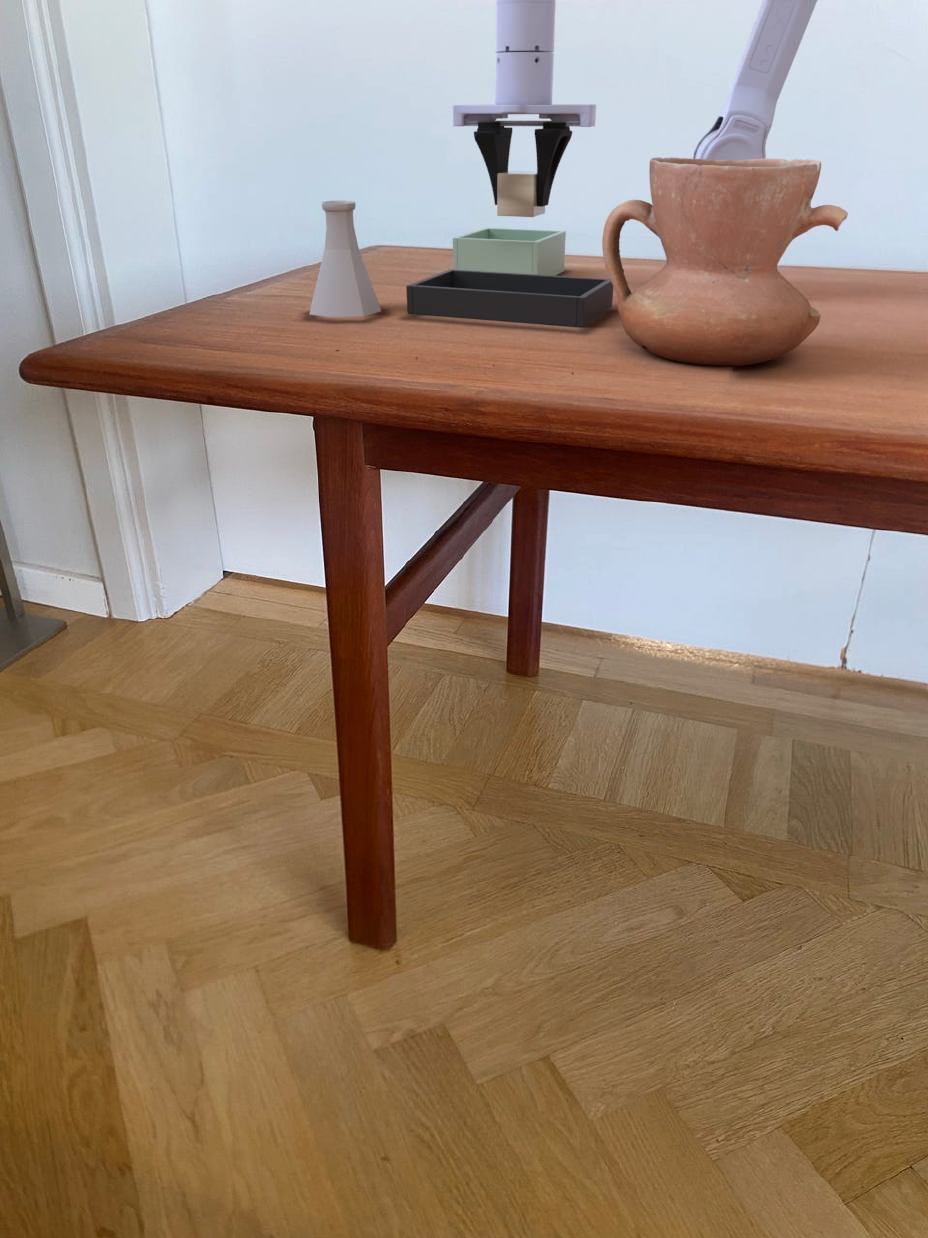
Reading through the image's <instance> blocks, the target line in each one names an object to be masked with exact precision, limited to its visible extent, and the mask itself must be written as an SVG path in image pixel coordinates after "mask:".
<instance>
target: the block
mask: <svg viewBox="0 0 928 1238" xmlns="http://www.w3.org/2000/svg"><path fill="white" fill-rule="evenodd" d="M536 183H537V170H536V171H535V170H534V171H531V170H508V172H503V173H498V181H497V205H496V215H497V217H516V218H517V217H518V218H535V217H537V216H540V215H544V214H545V213H546V206H543V207H539V206H537V202H536Z"/></svg>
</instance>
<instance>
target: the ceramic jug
mask: <svg viewBox="0 0 928 1238" xmlns="http://www.w3.org/2000/svg"><path fill="white" fill-rule="evenodd" d="M648 171H649V172H648V173H649V190H650V197H651V198H650V199H651V203H650V202H648V201H644V200H642V199H631V200H627V201H624V202H622V203H620V204H618V205H616V206H615V207H614V208H613V209H612V210H611V212H610V213H609V215H608V216H607V217H606V220H605V223H604V226H603V232H602V238H601V239H602V240H601V241H602V242H601V243H602V245H601V247H602V256H603V261H604V266H605V269H606V272H607V274H608V277H609V279H610V280H611V282H612V284H613V290H614V291H615V294H616V298H617V303H616V304H617V311H618V314H619V316H620V318H621V323H622V324H621V325H622V327H623V329H624V332H625V333H626V335H627V336H628V337H629V338H630V339H631V341H632V342H633V343H635V344H636V345H638V346H639V347H640V348H642V349H644V350H645V351H648V352H650V353H651V354H653V355H655V356H658V357H661V358H664V359H667V360H670V361H674V362H679V363H684V364H689V365H698V366H699V365H700V366H711V367H712V366H713V367H714V366H715V367H743V366H750V365H755V364H760V363H764V362H767V361H771V360H773V359H777V358H780V357H783V356H784V355H786V354H788V353H790V352H791V351H793V350H795V349H796V348H797V347H798V346H799V345H801V344H802V343H803V342H804V341H805V340H807V338H808V337H809V336H810V335H811V334H812V333H813V332H814V331H815V330H817V329H816V328H817V327H818V326H819V323H820V320H821V317H822V314H821V313H820V312H819V311H818V310H817V309H816V308H815V307H812V306H811V304H810V302H809V299H808V298H806V296H804V294H803V293H802V292H801V291H800V290H799V289H797V288H796V286H794V285H793V284H792V283H791V282H790V281H788V280H787V278H786V277H785V276H784V275H783V274H782V273H780V271H779V270H778V264H779V262H780V261H781V259H782V257H783V256H784V254H785V252H786V251H787V249H788V247H789V245H790V244H791V243H792V242H793V241H794V240H795V239H796V238H798V237H799V236H801V235H803V234H805V233H807V232H808V231H810V230H812V229H813V228H815V227H820V226H827V227H830V228H833V230H834V231H835V232H838V231H839V229H840V226H841V225H842V223H843V222H844V221H845V220H847V218H848V215H849V212H848V211H847V210H845V209H844V208H842V207H840V206H837V205H833V204H823V205H819V206H815V207H812V206H811V203H812V200H813V196H815V195H814V194H815V192H816V189H817V187H818V183H819V179H820V176H821V171H822V161H820V160H815V159H802V158H801V159H799V158H798V159H797V158H796V159H790V160H788V159H784V158H766V159H747V160H738V161H736V160H731V159H729V160H713V159H693V158H687V157H682V158H681V157H660V156H659V157H652V158H651V159H650V160H649V170H648ZM630 220H634V221H637V222H640V223H641V224H643V225H644V226H645V227H646V228H647V229H648V230H649V231H651V232H652V233H653V234H654V235H655V236H657V237H658V238H659V240H660V243H661V247H662V249H663V252H664V255H665V260H666V263H665V265H664V266H663V267H662V268H661V269H660V270H659V271H658V272H657V273H655V275H653V276H652V277H651V278H649V279H648V280H647V281H645V282H644V283H642V284H641V285H640V286H639V285H638V287H637V288H636V289H634V290H633V291H632V290H631V288H630V287H629V284H628V280H627V278H626V276H625V269H624V268H623V264H622V260H621V251H620V239H621V232H622V229H623V227H624V226H625V223H626V222H628V221H630Z"/></svg>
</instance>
